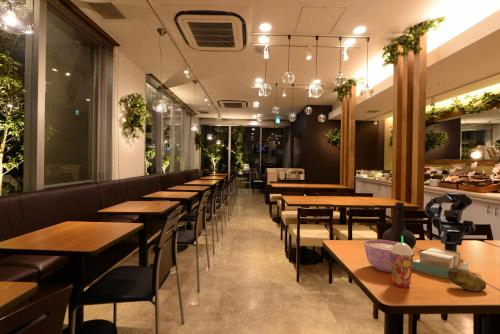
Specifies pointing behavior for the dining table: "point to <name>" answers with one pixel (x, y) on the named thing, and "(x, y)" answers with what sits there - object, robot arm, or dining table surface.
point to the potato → (466, 279)
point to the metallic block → (440, 258)
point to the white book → (434, 268)
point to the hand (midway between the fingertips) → (449, 237)
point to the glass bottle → (399, 228)
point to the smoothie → (401, 264)
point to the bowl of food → (379, 253)
